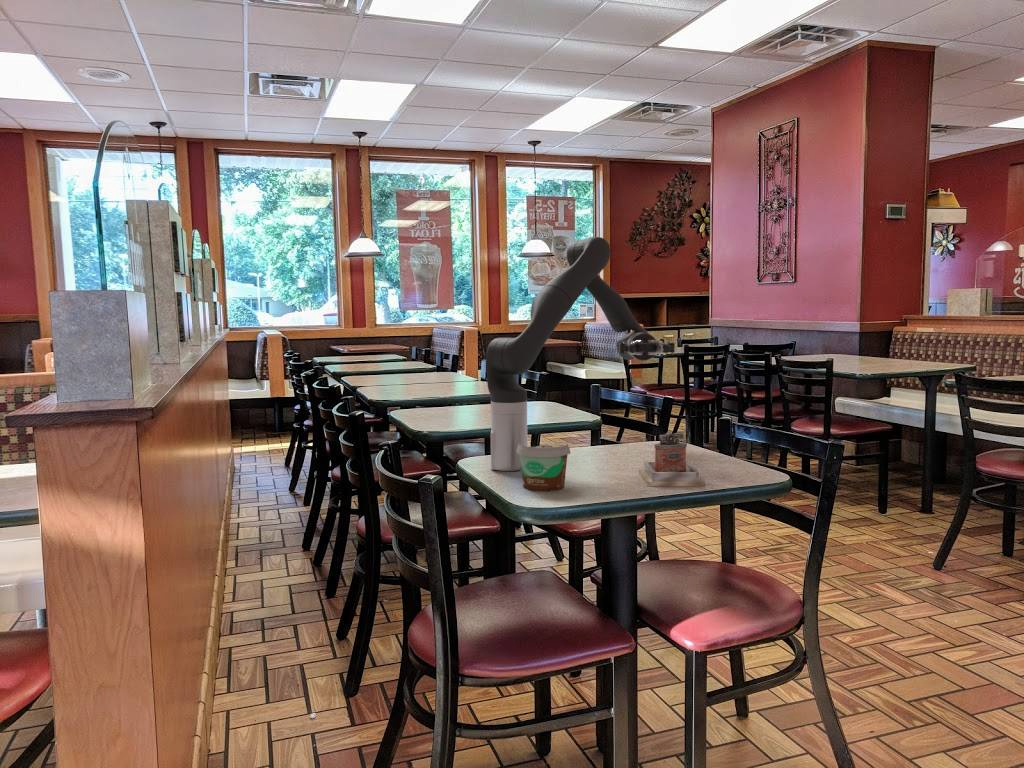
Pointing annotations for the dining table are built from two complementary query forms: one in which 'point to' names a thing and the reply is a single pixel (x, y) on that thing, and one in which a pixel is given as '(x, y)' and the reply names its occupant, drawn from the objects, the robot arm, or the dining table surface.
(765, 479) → the dining table surface
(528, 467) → the food container
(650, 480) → the tray
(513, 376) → the robot arm
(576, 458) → the dining table surface
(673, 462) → the lighter
